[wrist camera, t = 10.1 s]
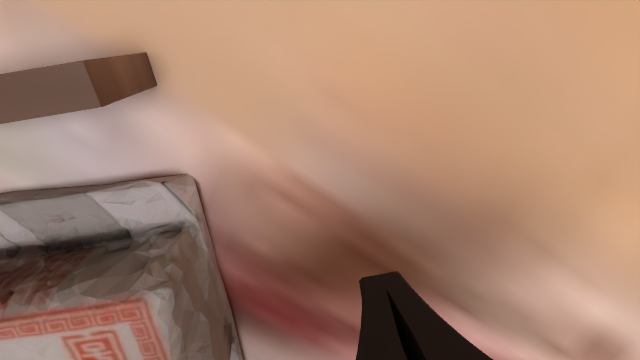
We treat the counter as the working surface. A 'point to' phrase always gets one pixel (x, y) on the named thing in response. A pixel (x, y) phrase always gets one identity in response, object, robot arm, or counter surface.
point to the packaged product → (111, 275)
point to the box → (72, 86)
